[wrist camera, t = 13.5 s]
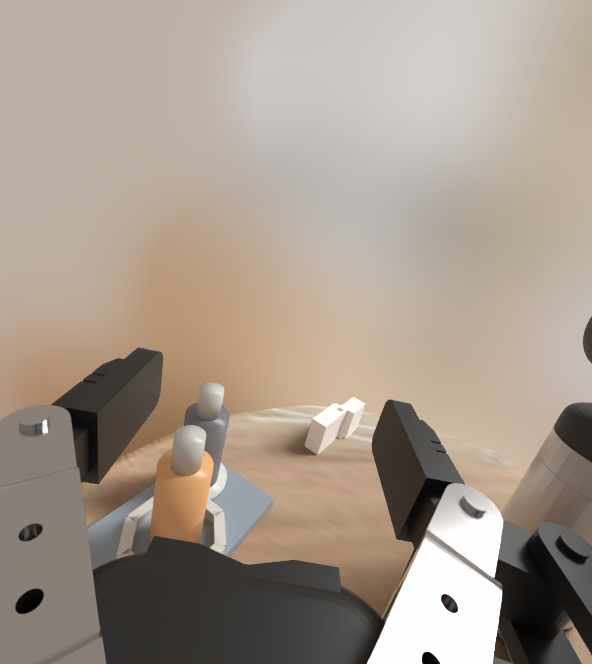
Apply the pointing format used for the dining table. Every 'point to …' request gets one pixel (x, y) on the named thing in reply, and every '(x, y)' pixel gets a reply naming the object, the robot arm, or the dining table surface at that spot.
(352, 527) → the dining table surface
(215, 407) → the bottle holder tray
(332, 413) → the white stepped block
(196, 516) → the orange lotion bottle
